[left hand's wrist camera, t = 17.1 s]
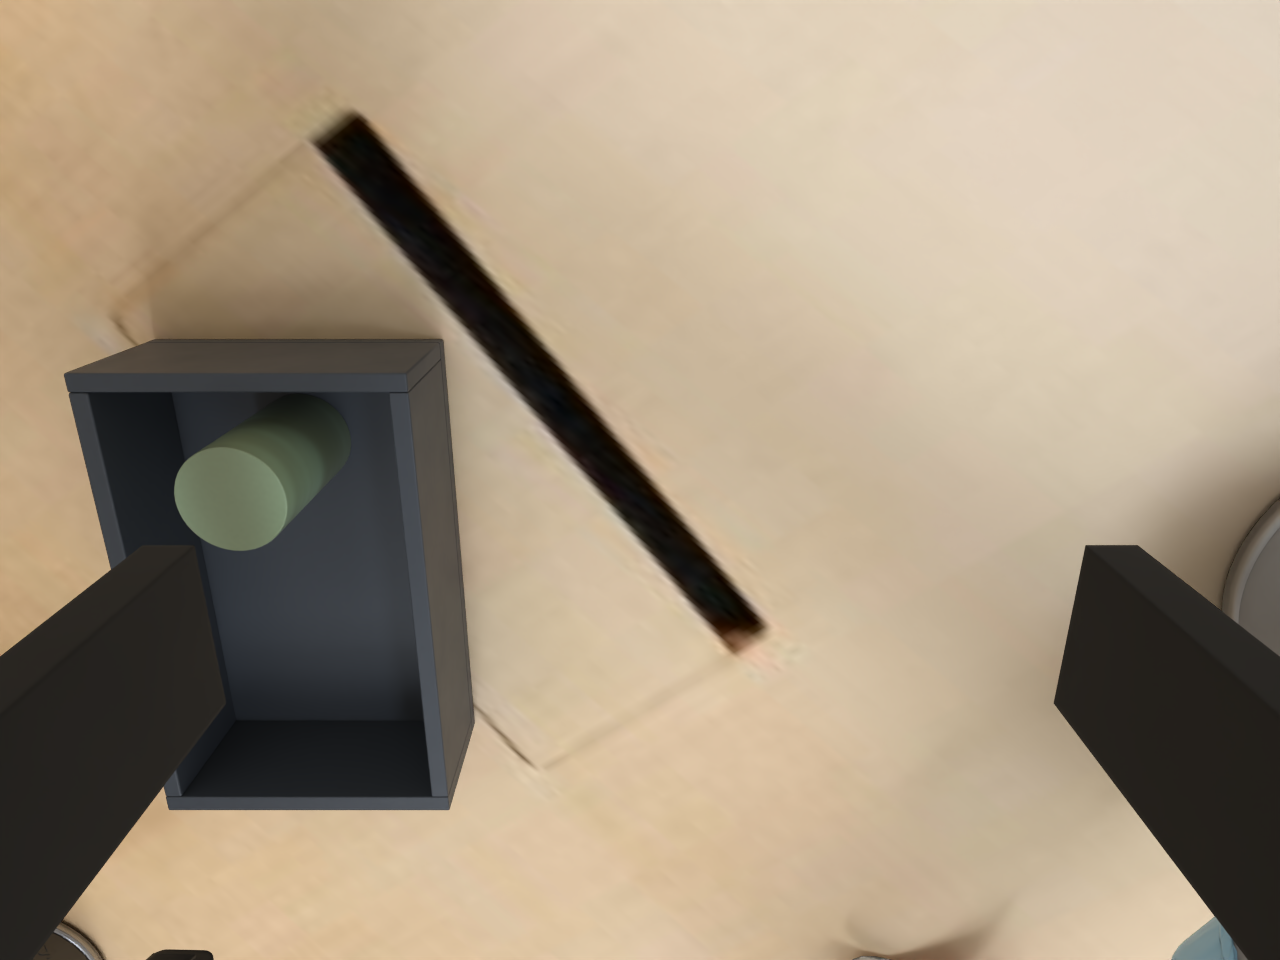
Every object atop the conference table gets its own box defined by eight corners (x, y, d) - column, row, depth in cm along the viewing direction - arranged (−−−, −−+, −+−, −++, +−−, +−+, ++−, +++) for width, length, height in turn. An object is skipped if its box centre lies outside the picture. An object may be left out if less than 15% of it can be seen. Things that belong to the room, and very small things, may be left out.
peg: (345, 393, 40) (278, 446, 33) (356, 480, 42) (295, 551, 34) (252, 393, 40) (163, 447, 33) (266, 481, 42) (185, 551, 34)
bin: (443, 338, 40) (406, 373, 34) (474, 723, 48) (449, 810, 42) (153, 338, 40) (62, 373, 34) (231, 723, 48) (168, 810, 42)
